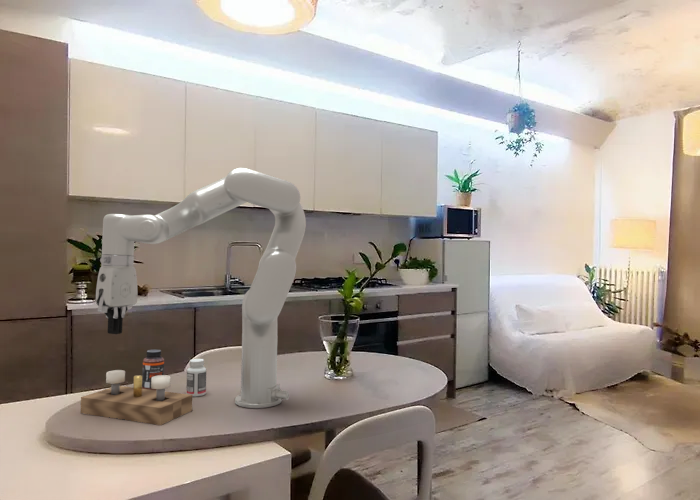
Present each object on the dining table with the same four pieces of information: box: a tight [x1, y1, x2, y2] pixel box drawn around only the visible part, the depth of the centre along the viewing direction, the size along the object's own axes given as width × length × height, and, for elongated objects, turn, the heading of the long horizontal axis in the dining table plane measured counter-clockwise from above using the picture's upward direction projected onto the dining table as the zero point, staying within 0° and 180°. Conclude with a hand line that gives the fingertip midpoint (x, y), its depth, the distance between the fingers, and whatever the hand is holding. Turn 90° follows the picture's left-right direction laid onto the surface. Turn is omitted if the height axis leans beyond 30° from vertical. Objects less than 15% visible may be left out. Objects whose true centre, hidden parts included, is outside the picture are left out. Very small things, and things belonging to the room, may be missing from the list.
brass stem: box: [133, 374, 142, 397], centre depth 128 cm, size 2×2×5 cm
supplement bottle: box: [142, 349, 165, 390], centre depth 150 cm, size 6×6×11 cm
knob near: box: [151, 374, 171, 401], centre depth 126 cm, size 4×4×6 cm
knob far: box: [105, 369, 126, 395], centre depth 131 cm, size 4×4×6 cm
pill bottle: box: [186, 358, 207, 398], centre depth 145 cm, size 5×5×10 cm
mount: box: [80, 385, 193, 426], centre depth 128 cm, size 24×12×4 cm, turn 72°
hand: (114, 333), depth 131 cm, fingers closed
